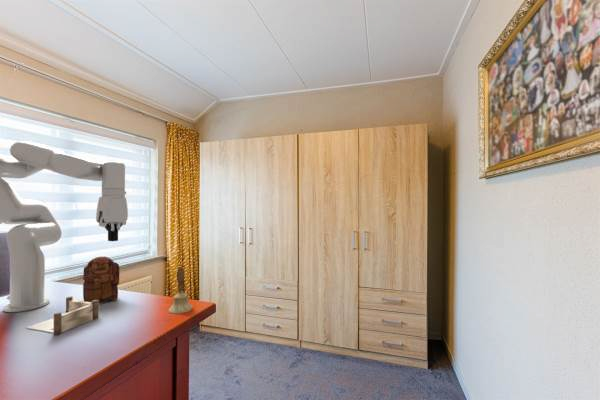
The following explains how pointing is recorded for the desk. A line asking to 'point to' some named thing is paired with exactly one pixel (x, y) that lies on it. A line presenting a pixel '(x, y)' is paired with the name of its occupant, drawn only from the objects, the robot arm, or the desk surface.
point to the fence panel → (72, 318)
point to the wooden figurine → (101, 280)
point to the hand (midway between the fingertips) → (112, 240)
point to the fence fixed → (82, 305)
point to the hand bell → (180, 296)
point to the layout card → (44, 326)
